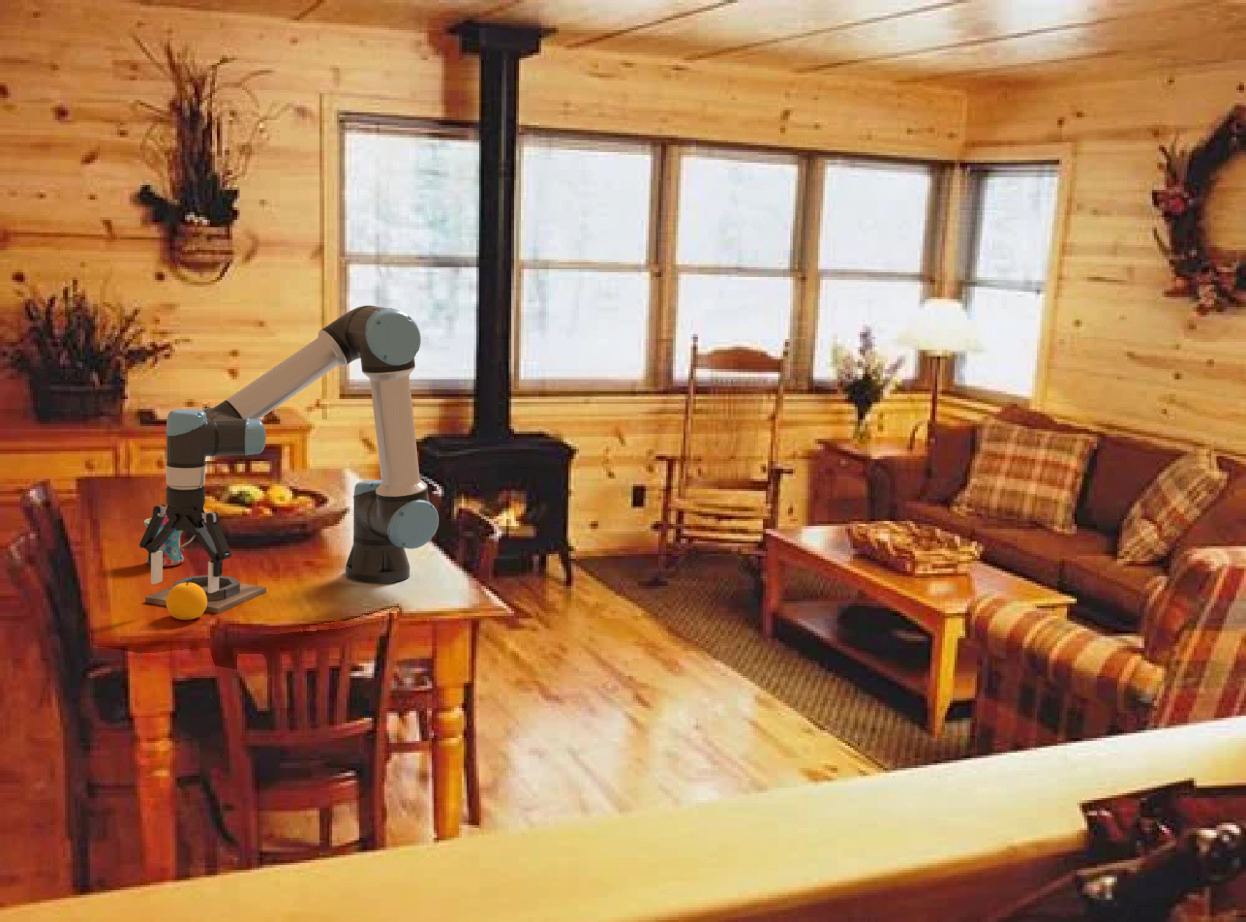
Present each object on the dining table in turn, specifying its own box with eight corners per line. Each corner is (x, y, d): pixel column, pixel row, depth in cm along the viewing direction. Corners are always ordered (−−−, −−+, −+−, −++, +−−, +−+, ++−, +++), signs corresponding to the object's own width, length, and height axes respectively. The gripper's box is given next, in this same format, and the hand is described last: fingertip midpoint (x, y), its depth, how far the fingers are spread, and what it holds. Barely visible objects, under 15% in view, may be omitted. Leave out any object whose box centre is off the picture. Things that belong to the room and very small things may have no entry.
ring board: (266, 592, 277) (266, 578, 276) (218, 613, 260) (218, 598, 259) (196, 582, 282) (196, 568, 281) (145, 602, 265) (145, 588, 264)
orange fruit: (158, 619, 254) (157, 584, 253) (184, 610, 261) (183, 575, 260) (189, 625, 251) (189, 590, 250) (215, 615, 258) (215, 581, 257)
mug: (147, 570, 289) (147, 526, 288) (141, 560, 297) (141, 517, 295) (201, 566, 295) (200, 522, 293) (193, 556, 303) (193, 514, 301)
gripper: (249, 489, 251) (248, 590, 255) (145, 476, 258) (145, 574, 262) (228, 495, 244) (226, 599, 248) (121, 481, 251) (121, 582, 255)
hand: (184, 587), depth 255 cm, fingers open, 13 cm apart
